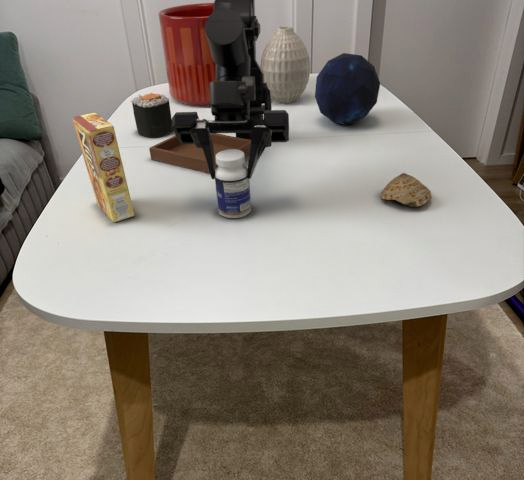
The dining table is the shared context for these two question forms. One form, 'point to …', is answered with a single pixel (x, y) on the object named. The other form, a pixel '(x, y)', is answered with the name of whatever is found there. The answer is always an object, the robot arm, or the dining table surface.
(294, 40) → the vase
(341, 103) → the decorative orb
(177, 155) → the tray
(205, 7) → the planter
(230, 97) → the robot arm
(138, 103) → the sushi
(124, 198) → the candy box
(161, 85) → the dining table surface
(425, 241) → the dining table surface
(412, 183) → the seashell
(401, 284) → the dining table surface
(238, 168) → the pill bottle
